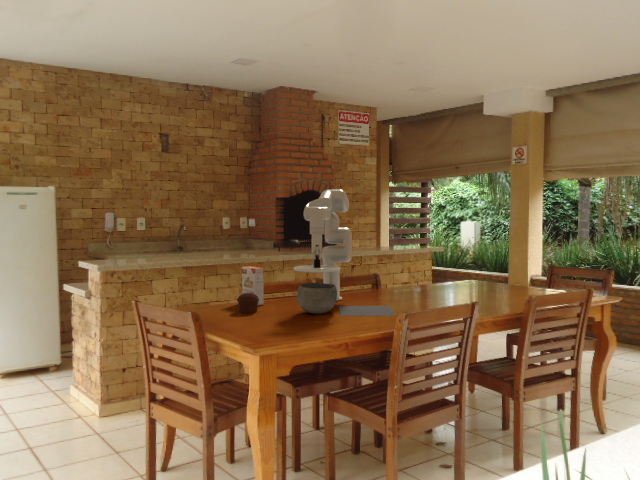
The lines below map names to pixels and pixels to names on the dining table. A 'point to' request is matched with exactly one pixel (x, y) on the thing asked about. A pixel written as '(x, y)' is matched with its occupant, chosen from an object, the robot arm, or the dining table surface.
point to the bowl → (317, 297)
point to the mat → (366, 311)
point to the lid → (316, 268)
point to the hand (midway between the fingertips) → (317, 266)
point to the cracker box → (253, 282)
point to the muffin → (248, 303)
